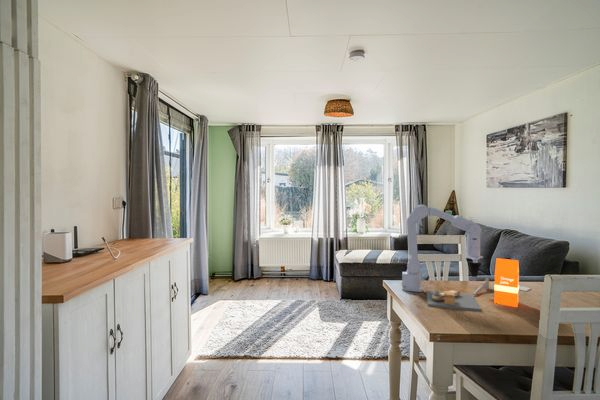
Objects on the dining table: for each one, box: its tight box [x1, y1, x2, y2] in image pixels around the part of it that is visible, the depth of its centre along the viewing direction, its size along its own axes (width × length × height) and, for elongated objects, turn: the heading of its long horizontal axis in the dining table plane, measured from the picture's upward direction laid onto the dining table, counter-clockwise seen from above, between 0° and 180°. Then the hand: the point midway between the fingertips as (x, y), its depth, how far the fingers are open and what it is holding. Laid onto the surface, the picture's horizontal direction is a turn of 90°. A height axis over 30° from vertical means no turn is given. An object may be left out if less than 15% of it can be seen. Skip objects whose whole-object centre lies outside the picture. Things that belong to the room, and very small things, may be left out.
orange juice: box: [493, 257, 520, 308], centre depth 150 cm, size 8×9×20 cm
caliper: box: [472, 276, 490, 297], centre depth 166 cm, size 20×1×6 cm, turn 132°
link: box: [432, 289, 461, 301], centre depth 154 cm, size 18×4×4 cm, turn 121°
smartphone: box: [519, 285, 532, 292], centre depth 175 cm, size 7×1×15 cm
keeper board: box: [425, 290, 482, 312], centre depth 153 cm, size 21×21×5 cm
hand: (473, 274), depth 161 cm, fingers open, 7 cm apart
